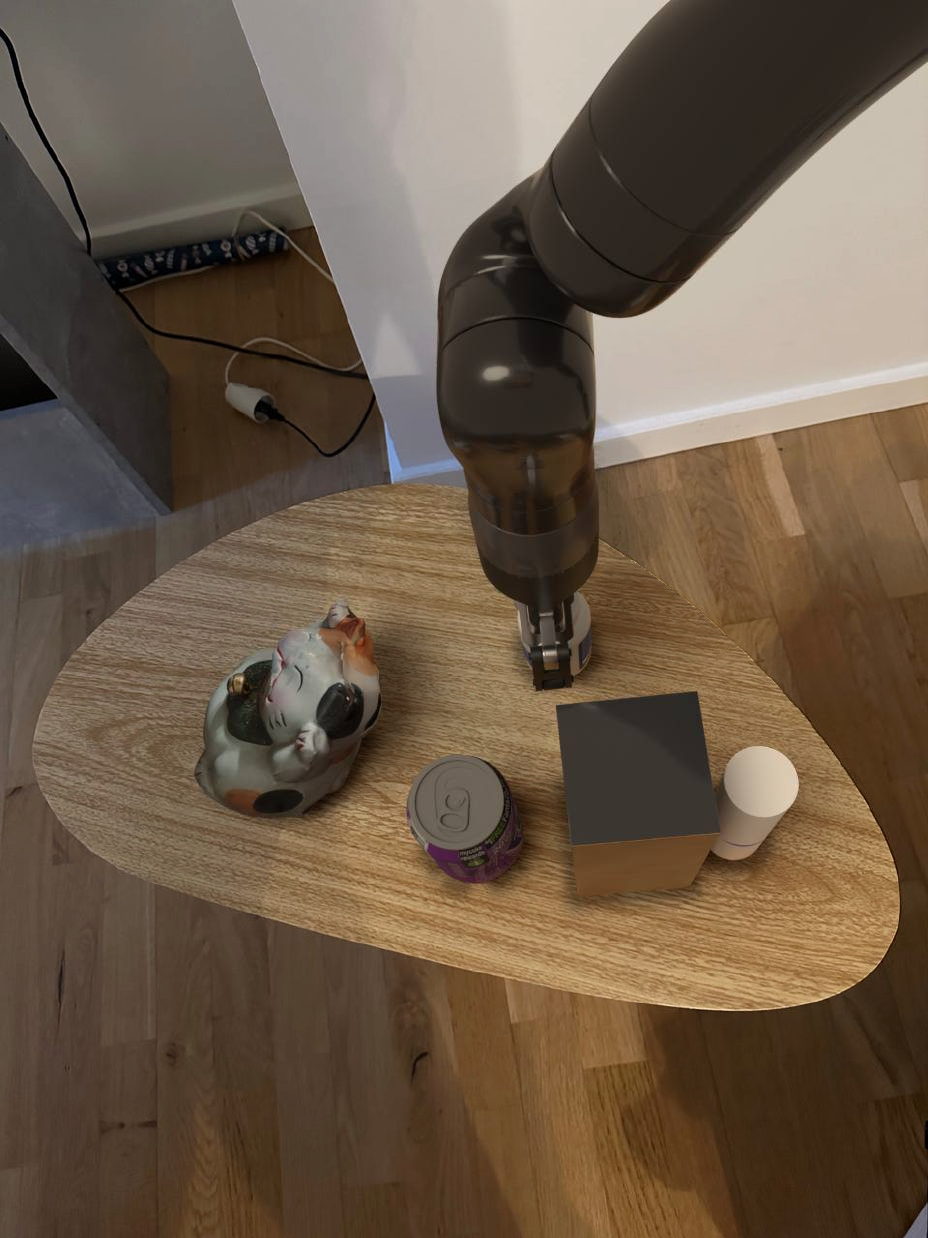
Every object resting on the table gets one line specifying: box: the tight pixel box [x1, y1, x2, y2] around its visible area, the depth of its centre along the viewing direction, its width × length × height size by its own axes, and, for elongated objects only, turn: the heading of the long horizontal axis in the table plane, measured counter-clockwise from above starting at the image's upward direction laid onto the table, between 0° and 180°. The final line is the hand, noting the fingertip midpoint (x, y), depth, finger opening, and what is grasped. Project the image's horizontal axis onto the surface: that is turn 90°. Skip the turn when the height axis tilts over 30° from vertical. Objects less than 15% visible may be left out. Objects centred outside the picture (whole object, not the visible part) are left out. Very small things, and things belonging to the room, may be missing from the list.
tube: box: [710, 745, 800, 861], centre depth 68 cm, size 4×4×15 cm
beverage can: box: [405, 753, 524, 884], centre depth 72 cm, size 7×7×12 cm
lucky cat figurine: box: [193, 598, 383, 819], centre depth 76 cm, size 15×12×14 cm
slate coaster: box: [555, 690, 720, 848], centre depth 57 cm, size 8×8×1 cm
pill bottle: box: [516, 590, 593, 677], centre depth 78 cm, size 5×5×10 cm
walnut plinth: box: [570, 834, 719, 898], centre depth 67 cm, size 8×8×20 cm
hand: (547, 622), depth 76 cm, fingers open, 7 cm apart
